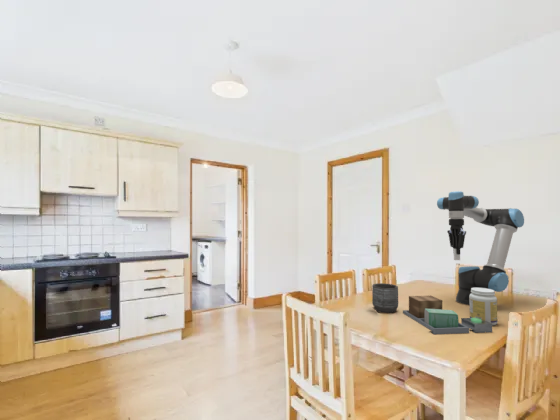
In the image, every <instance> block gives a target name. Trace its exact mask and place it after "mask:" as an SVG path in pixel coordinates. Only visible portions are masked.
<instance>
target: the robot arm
mask: <svg viewBox="0 0 560 420" xmlns="http://www.w3.org/2000/svg"><path fill="white" fill-rule="evenodd" d="M479 203H480V201H479V198H478V197H476V196H474V195H465V194H464V191H462V190H461V191H459V190H458V191H450V192H448V197H447V196H445V197H444V196H443V197H440V198H438V199H437V202H436V205H437V208H438V209H439V210H443V211H444V210H447V211H448V218H449V219H448V225H449V226H450V229H449V230H447V233H448V238H449V239H448V240H449V246H450V248H452V249H453V261H461V249H464V245H465V240H466V239H465V238H466V235H467V231H466V230H464V228H463V226H464V225H465V219H464V218H465V217H467V218H470V219H472V220H473V221H474V222H476V223H479V224H483V225H485V226H489V227H494V229H495V233H494V236H493V240H492V244H491V248H490V252H489V256H488V259H487V262H486V264H484V265H483V266H482V269H481V267H480V266H478V265H477V266H475V265H474V266H473V265H471V266H470V265H469V266H460V267H459V268H458V274H457V275H458V290H457V293H456V296H455V301H456V302H457V303H459V304H463V305H467V306H469V295H470V294H471V293H472V292H471V288H487V289H492V290H494V291H495V293H496V292H497V293H501V292H503V291H505V290H506V289H507V287H508V286H509V278H510V277H509V276H508V274H507V271H506V270H505V265H506V262H507V261H506V260H507V257H508V255H509V254H508V253H509V251H510V246H511V242H512V239H513V234H514V233H516V232H517V231H518V228H522V227H523V226H524V224H525V216H524V214H523V212H522V210H520V209H518V208H511V207H510V208H483V207H479ZM478 207H479V208H478Z"/></svg>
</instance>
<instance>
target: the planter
mask: <svg viewBox="0 0 560 420" xmlns="http://www.w3.org/2000/svg"><path fill="white" fill-rule="evenodd" d="M371 288H372V289H371V290H372V291H371V292H372V293H371V294H372V295H371V296H372V300H371V302H372V306H373V308H374V309H375V310H376V312H377V313H378V314H379V313H384V314H386V313H387V314H391V313H396V311H397V309H398V308H399V286H398V285H396V284H392V283H386V282H385V283H383V282H382V283H381V282H380V283H379V282H377V283H372V286H371Z"/></svg>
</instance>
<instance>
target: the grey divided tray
mask: <svg viewBox="0 0 560 420" xmlns="http://www.w3.org/2000/svg"><path fill="white" fill-rule="evenodd" d="M402 314H404V315H405V316H407V317H408V318H410V319H412V320H413V321H415V322H416V323H418V324H420V325H422V326H423V327H424V328H426V329H428V330H430V331H429V332H430V333H431V334H432V335H450V334H451V335H452V334H470V328H469V327H467V326H465V325H463V324H461V322H459V324H458V327H452V328H436V327H432V326H430V325H429V324H427V323H425V322H424V318H417V317H415V316H413V315H412V314H410V313H409V309H405V310H402Z"/></svg>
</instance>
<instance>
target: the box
mask: <svg viewBox="0 0 560 420" xmlns="http://www.w3.org/2000/svg"><path fill="white" fill-rule="evenodd" d="M424 322H425V323H427V324H429V325H430V326H432V327H436V328H452V327H458V324H459V323H460V322H459V314H458V313H457V312H456V311H454V310H451V309H443V308H442V309H425V317H424Z"/></svg>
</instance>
